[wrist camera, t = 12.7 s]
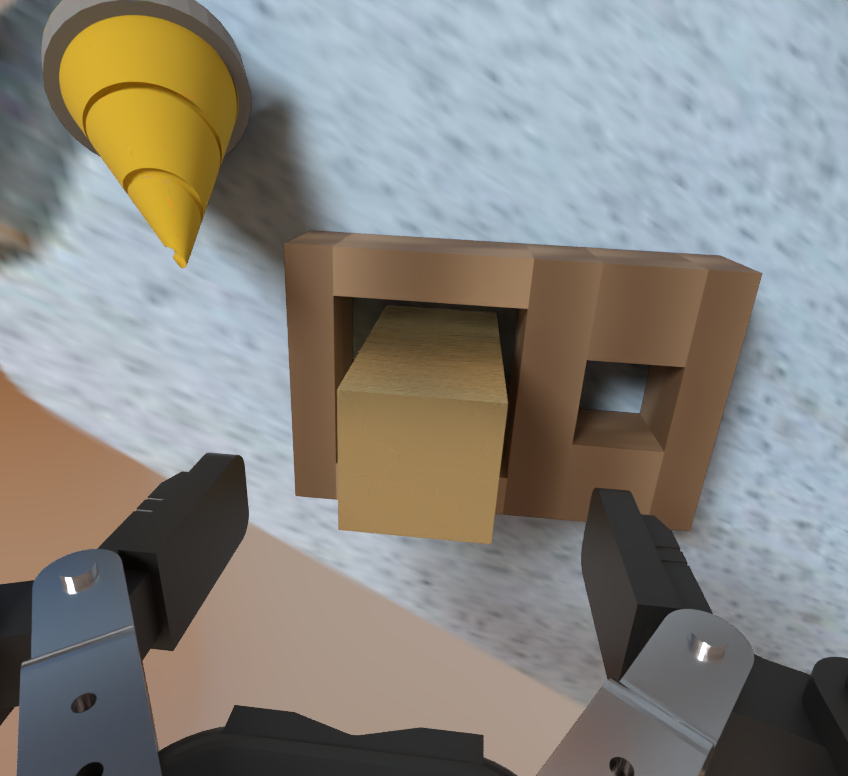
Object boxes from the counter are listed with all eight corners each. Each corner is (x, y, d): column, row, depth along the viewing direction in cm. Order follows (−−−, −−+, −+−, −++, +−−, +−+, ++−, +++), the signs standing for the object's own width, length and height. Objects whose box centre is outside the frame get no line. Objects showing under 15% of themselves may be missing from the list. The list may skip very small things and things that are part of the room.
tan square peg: (496, 312, 20) (508, 403, 13) (486, 412, 22) (491, 544, 15) (386, 304, 21) (337, 390, 13) (383, 404, 22) (338, 529, 15)
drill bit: (249, -34, 17) (324, 201, 13) (212, 115, 21) (261, 334, 17) (37, -118, 14) (50, 152, 10) (39, 74, 18) (49, 327, 14)
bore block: (720, 255, 19) (762, 273, 16) (663, 484, 22) (689, 531, 20) (310, 230, 20) (283, 243, 17) (316, 455, 23) (295, 495, 20)
